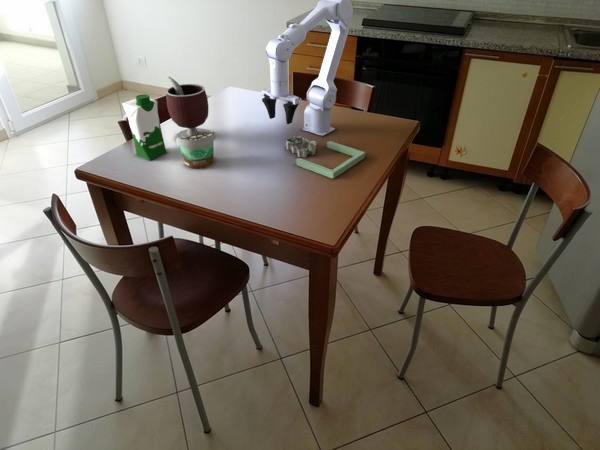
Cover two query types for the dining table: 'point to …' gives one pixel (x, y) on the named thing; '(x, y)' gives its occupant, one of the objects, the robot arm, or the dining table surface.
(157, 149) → the milk carton
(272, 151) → the dining table surface
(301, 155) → the egg carton
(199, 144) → the food container
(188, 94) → the mate gourd
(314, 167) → the frame
